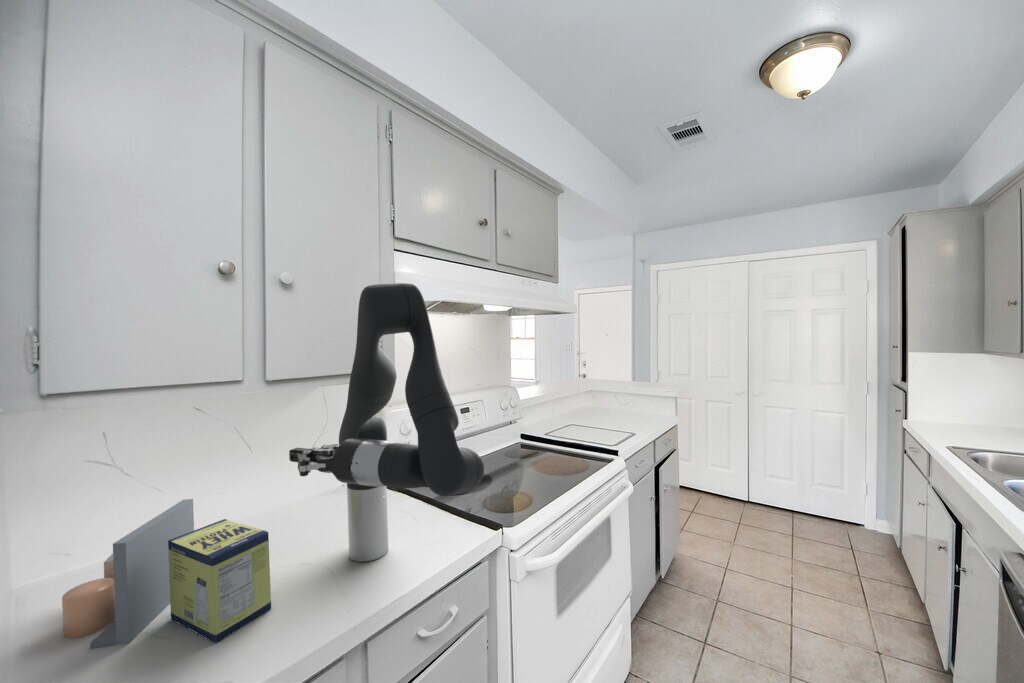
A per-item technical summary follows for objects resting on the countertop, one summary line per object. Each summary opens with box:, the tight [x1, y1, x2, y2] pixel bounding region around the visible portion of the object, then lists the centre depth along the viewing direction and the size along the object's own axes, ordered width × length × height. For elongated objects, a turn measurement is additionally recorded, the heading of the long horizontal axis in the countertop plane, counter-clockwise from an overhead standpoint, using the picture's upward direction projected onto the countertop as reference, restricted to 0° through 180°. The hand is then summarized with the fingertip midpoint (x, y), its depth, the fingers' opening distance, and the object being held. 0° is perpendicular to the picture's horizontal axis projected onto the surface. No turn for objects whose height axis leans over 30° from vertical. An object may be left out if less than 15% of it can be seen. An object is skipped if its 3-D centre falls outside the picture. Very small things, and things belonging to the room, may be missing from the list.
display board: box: [89, 498, 195, 649], centre depth 82 cm, size 20×6×18 cm, turn 10°
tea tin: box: [103, 553, 114, 579], centre depth 87 cm, size 5×5×9 cm
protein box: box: [168, 518, 272, 644], centre depth 80 cm, size 10×16×16 cm
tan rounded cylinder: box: [61, 577, 116, 640], centre depth 78 cm, size 7×7×7 cm
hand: (292, 454), depth 76 cm, fingers closed
